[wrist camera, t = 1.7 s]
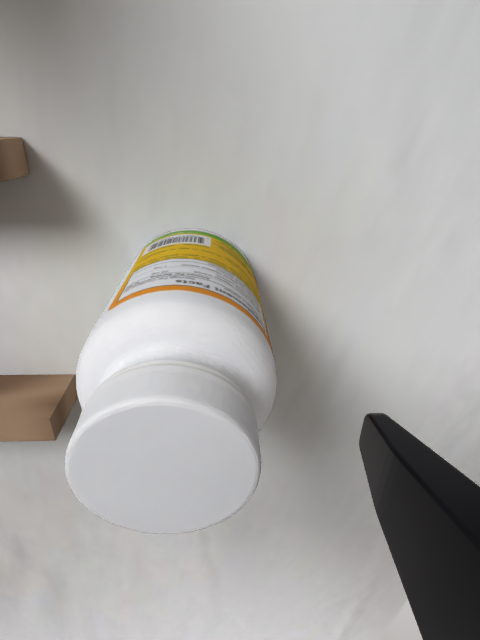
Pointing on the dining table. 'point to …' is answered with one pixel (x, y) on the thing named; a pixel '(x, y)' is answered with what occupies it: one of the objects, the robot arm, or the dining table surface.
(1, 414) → the bay
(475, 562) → the robot arm
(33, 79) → the dining table surface
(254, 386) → the supplement bottle
